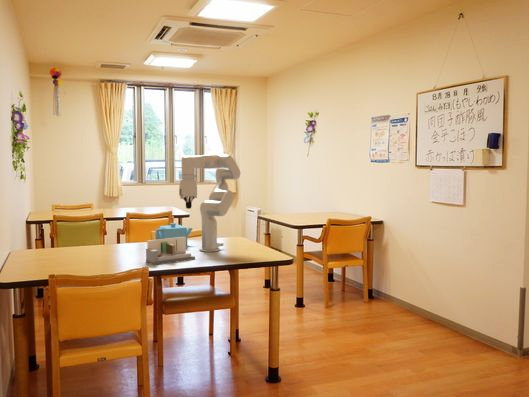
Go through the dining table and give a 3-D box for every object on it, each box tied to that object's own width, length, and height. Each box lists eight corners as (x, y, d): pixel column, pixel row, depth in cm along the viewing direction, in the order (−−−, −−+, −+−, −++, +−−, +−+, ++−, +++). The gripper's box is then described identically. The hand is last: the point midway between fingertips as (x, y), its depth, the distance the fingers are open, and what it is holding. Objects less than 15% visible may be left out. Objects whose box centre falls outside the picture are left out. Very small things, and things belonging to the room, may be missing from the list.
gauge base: (186, 256, 298) (186, 236, 297) (195, 259, 290) (194, 238, 289) (145, 261, 282) (145, 240, 281) (153, 264, 274) (153, 243, 273)
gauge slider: (168, 256, 290) (168, 242, 289) (175, 258, 283) (175, 244, 283) (156, 257, 285) (156, 243, 284) (162, 260, 279) (162, 245, 278)
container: (152, 245, 335) (152, 222, 334) (188, 242, 347) (188, 220, 346) (159, 249, 320) (159, 225, 319) (196, 246, 332) (196, 223, 331)
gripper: (196, 176, 301) (196, 207, 303) (173, 177, 292) (174, 208, 294) (202, 177, 295) (202, 208, 297) (179, 178, 286) (180, 209, 288)
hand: (188, 208), depth 295 cm, fingers closed
